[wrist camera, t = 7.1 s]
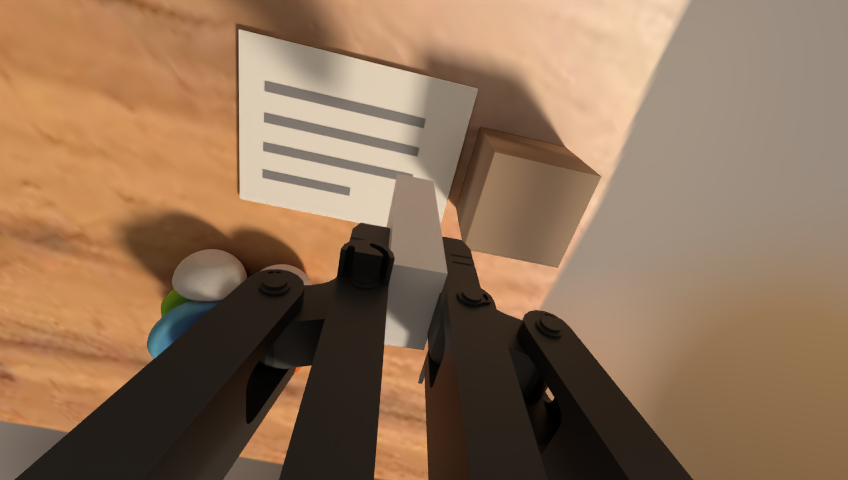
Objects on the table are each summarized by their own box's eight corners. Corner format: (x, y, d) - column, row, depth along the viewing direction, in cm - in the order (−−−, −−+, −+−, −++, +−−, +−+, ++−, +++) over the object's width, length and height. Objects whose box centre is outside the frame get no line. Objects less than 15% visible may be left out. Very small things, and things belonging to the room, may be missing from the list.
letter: (241, 196, 23) (239, 199, 22) (241, 29, 18) (238, 29, 18) (436, 236, 24) (436, 238, 24) (477, 88, 20) (478, 89, 20)
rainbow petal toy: (316, 354, 29) (286, 444, 23) (185, 328, 28) (115, 416, 22) (334, 265, 25) (304, 344, 19) (182, 230, 24) (95, 302, 18)
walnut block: (456, 207, 23) (463, 248, 19) (480, 126, 21) (495, 152, 17) (533, 223, 24) (557, 267, 19) (565, 146, 21) (601, 176, 17)
